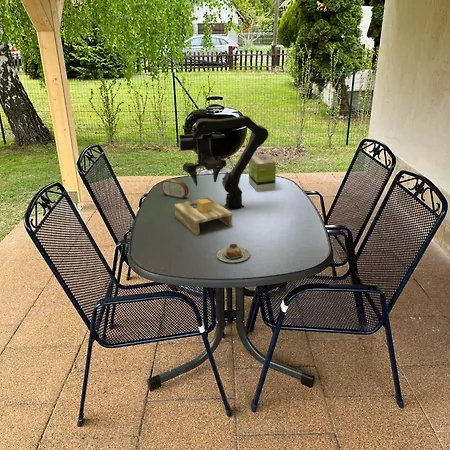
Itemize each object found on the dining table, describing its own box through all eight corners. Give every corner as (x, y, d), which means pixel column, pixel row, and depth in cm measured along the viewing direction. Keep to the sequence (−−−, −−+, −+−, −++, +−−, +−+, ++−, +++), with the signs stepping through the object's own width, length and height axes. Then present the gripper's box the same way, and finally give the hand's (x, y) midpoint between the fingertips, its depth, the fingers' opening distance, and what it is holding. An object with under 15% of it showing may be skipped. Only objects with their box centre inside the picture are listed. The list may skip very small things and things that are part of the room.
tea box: (248, 183, 229) (248, 156, 223) (266, 181, 231) (266, 154, 225) (257, 192, 216) (256, 163, 210) (276, 190, 218) (276, 161, 212)
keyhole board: (208, 209, 196) (207, 197, 194) (232, 226, 178) (231, 212, 176) (175, 217, 189) (174, 204, 187) (196, 235, 171) (195, 221, 169)
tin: (189, 198, 211) (188, 181, 208) (185, 200, 209) (184, 183, 206) (165, 193, 219) (164, 177, 216) (161, 195, 217) (160, 179, 213)
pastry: (254, 262, 150) (253, 250, 148) (220, 267, 148) (219, 255, 146) (245, 247, 161) (245, 236, 159) (213, 251, 159) (213, 240, 157)
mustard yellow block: (207, 215, 183) (206, 198, 180) (212, 218, 180) (211, 201, 177) (198, 217, 181) (197, 200, 178) (202, 220, 178) (201, 203, 175)
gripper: (192, 156, 175) (194, 192, 181) (232, 149, 183) (233, 184, 189) (181, 150, 184) (183, 185, 191) (219, 144, 192) (221, 178, 198)
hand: (205, 183), depth 192 cm, fingers open, 9 cm apart
